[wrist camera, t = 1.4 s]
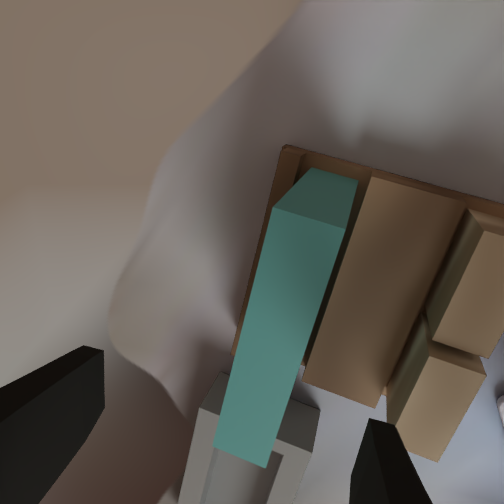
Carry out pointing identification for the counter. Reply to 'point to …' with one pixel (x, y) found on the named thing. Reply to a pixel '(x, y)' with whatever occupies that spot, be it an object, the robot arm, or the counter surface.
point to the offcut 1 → (470, 287)
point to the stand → (239, 470)
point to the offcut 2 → (431, 391)
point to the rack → (372, 271)
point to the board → (283, 311)
